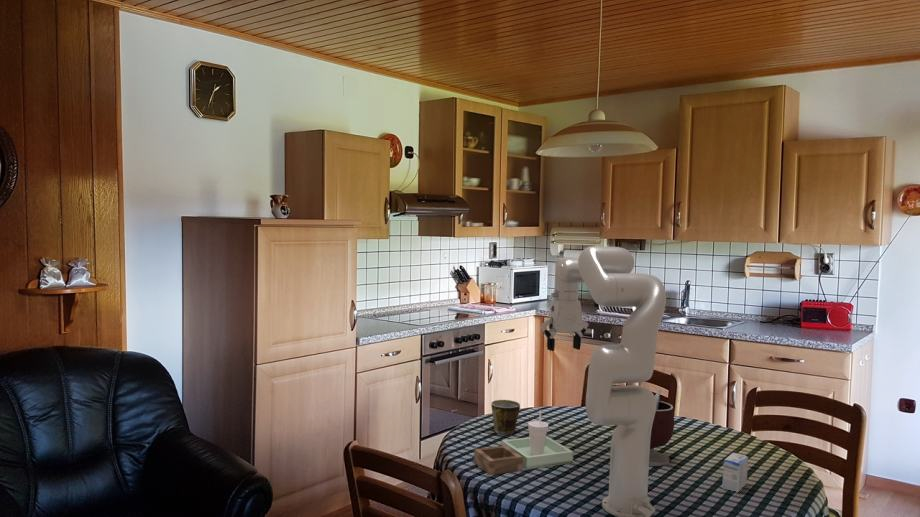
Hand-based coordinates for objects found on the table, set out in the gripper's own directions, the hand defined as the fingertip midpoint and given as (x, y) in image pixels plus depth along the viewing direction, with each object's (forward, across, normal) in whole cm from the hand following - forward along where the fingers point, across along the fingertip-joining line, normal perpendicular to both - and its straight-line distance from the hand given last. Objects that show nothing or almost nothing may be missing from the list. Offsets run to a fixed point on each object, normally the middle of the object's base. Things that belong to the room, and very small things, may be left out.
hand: (563, 349), depth 206 cm
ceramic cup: (+32, -10, +20) cm, 39 cm away
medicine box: (+33, +30, -43) cm, 62 cm away
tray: (+32, -11, -4) cm, 34 cm away
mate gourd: (+32, +23, -16) cm, 43 cm away
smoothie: (+32, -11, -4) cm, 34 cm away
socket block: (+32, -26, -7) cm, 42 cm away
